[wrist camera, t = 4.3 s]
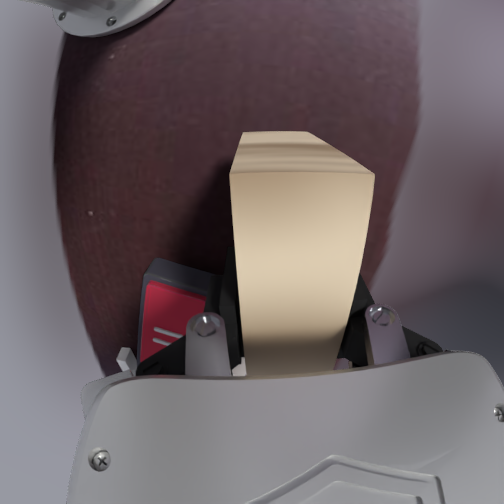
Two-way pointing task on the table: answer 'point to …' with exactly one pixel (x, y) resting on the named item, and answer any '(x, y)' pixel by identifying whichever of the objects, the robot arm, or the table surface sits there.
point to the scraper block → (296, 248)
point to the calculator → (171, 306)
